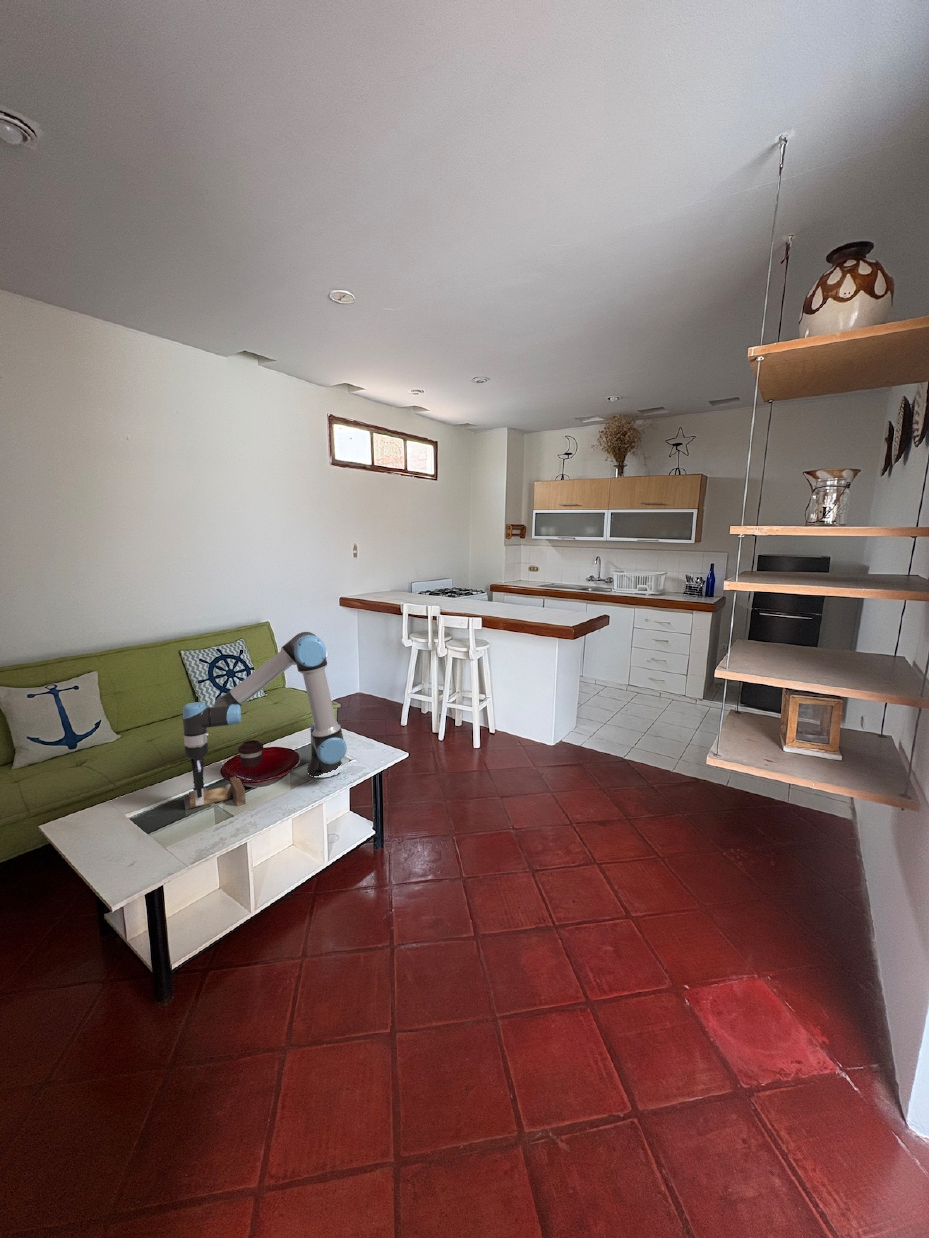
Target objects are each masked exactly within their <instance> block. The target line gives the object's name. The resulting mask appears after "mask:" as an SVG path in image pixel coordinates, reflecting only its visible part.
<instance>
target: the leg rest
mask: <svg viewBox="0 0 929 1238" xmlns="http://www.w3.org/2000/svg"><path fill="white" fill-rule="evenodd" d="M204 791H208V788H207V787H204V788H203V792H204ZM191 794H195V790H192V791H189V792H188V795H191Z"/></svg>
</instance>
